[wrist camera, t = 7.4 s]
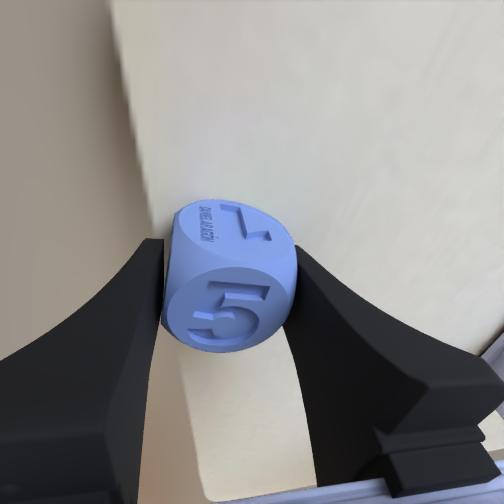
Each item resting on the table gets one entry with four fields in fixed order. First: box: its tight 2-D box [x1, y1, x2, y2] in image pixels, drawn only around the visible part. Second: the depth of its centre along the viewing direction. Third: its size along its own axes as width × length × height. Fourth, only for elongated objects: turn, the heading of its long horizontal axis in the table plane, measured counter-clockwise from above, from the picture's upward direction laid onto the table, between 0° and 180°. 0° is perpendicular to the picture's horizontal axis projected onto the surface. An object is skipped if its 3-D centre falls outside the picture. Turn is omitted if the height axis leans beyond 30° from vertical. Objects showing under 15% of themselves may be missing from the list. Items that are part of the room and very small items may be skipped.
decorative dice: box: [161, 200, 297, 353], centre depth 11 cm, size 4×4×4 cm
